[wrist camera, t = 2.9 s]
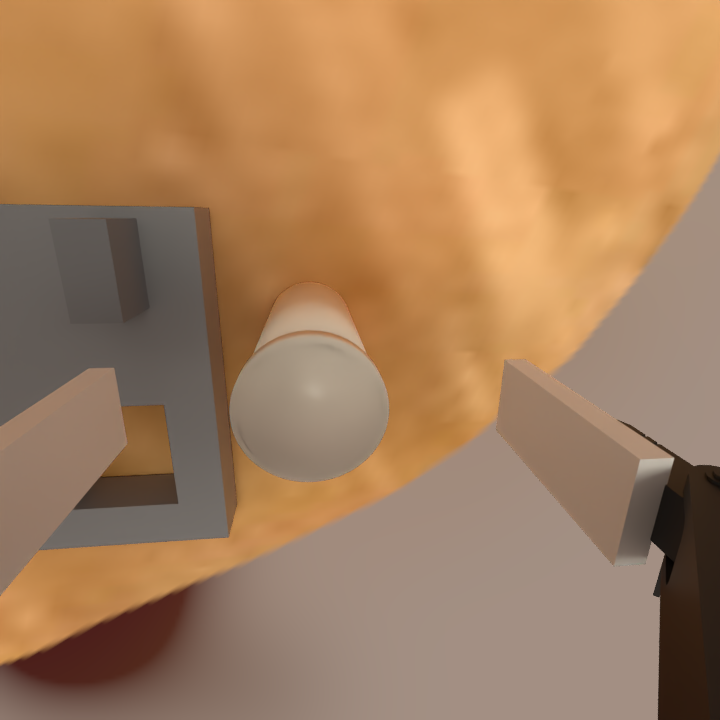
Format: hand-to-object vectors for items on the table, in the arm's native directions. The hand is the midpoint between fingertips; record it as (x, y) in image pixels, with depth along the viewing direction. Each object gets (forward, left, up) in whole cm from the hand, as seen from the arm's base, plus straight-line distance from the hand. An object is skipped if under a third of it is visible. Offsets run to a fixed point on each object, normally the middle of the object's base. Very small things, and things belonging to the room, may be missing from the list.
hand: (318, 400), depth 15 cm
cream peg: (0, 0, -10) cm, 10 cm away
